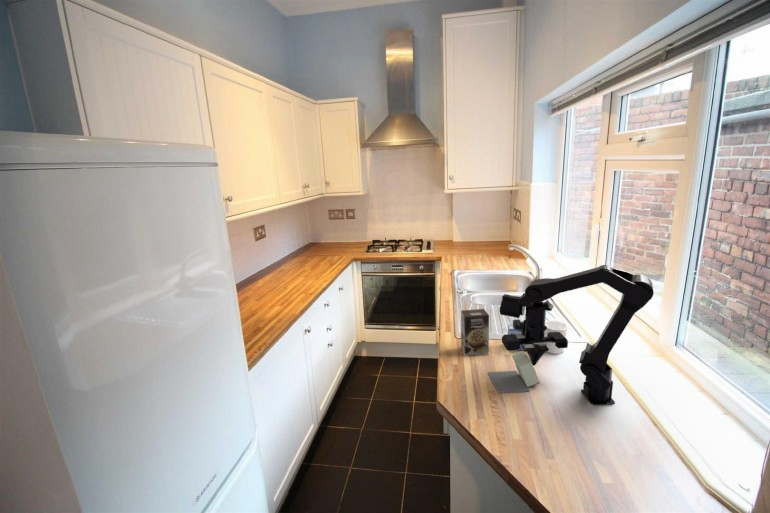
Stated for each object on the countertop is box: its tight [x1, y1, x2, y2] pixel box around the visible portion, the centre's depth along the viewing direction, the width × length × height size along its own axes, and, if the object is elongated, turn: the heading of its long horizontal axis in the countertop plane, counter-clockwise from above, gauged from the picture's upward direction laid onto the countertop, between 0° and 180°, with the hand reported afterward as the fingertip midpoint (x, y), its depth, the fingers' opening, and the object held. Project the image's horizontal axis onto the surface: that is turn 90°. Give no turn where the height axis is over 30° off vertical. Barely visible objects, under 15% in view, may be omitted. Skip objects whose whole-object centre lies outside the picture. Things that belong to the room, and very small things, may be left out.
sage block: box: [511, 350, 541, 389], centre depth 113 cm, size 4×7×8 cm, turn 179°
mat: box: [488, 370, 530, 394], centre depth 114 cm, size 9×11×1 cm
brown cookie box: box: [460, 308, 490, 357], centre depth 131 cm, size 9×6×16 cm
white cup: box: [544, 320, 568, 355], centre depth 129 cm, size 8×8×10 cm
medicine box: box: [507, 324, 525, 351], centre depth 133 cm, size 8×4×9 cm, turn 76°
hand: (532, 364), depth 112 cm, fingers closed
